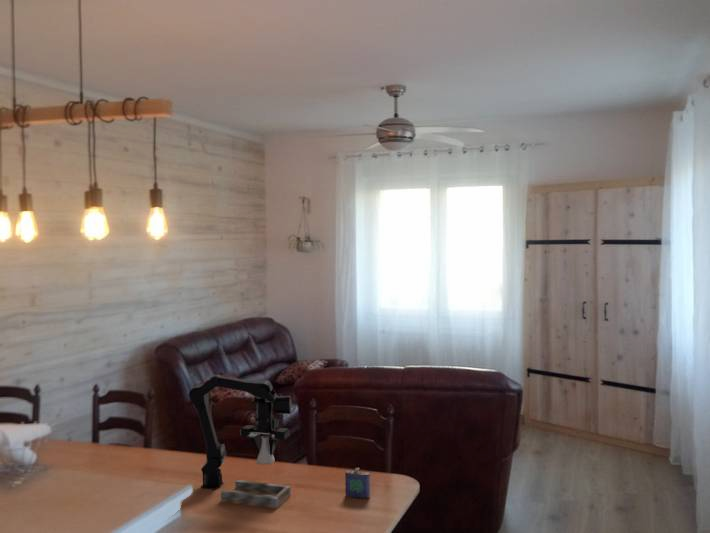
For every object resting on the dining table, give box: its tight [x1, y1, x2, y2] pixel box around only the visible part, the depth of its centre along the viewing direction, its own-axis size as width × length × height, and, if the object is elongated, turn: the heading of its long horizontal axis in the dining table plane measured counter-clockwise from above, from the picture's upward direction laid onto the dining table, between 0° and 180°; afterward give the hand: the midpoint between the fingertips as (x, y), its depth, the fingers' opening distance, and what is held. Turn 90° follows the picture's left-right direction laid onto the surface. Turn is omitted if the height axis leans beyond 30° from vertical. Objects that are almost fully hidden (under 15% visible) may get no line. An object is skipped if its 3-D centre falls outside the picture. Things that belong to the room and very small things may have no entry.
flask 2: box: [344, 467, 371, 500], centre depth 232 cm, size 9×3×11 cm, turn 74°
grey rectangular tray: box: [220, 479, 292, 510], centre depth 231 cm, size 22×12×4 cm, turn 72°
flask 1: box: [256, 435, 276, 466], centre depth 243 cm, size 7×7×10 cm
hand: (265, 454), depth 243 cm, fingers closed on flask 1, 5 cm apart
